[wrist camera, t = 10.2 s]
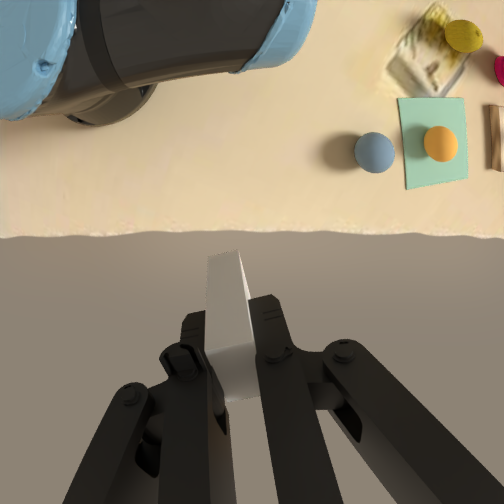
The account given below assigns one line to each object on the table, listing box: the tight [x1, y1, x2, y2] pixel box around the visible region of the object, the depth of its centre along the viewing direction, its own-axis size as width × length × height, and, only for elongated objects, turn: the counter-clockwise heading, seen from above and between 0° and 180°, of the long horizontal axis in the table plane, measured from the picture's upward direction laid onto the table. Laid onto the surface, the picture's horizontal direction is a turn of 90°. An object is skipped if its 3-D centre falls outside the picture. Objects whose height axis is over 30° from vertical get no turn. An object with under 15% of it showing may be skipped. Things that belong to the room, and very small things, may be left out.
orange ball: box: [424, 126, 458, 162], centre depth 37 cm, size 6×6×6 cm
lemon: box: [445, 20, 483, 53], centre depth 28 cm, size 6×6×8 cm
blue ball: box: [354, 132, 395, 173], centre depth 37 cm, size 6×6×6 cm
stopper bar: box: [489, 105, 504, 172], centre depth 38 cm, size 12×3×2 cm, turn 12°
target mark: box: [398, 98, 468, 190], centre depth 39 cm, size 14×14×1 cm
